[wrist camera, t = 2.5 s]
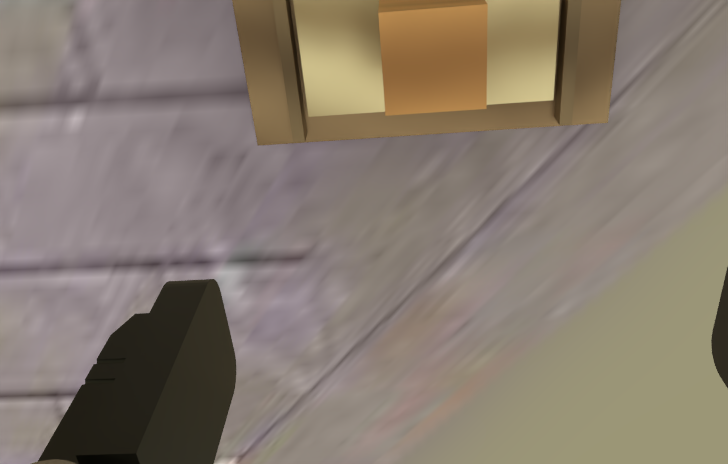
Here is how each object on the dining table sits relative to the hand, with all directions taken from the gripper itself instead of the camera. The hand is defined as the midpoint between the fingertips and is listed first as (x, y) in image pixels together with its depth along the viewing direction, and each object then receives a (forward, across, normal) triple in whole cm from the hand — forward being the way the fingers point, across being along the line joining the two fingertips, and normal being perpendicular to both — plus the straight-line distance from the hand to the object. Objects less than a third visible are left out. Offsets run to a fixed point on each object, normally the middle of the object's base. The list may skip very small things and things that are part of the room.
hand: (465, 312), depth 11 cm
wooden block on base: (+23, -1, +1) cm, 23 cm away
